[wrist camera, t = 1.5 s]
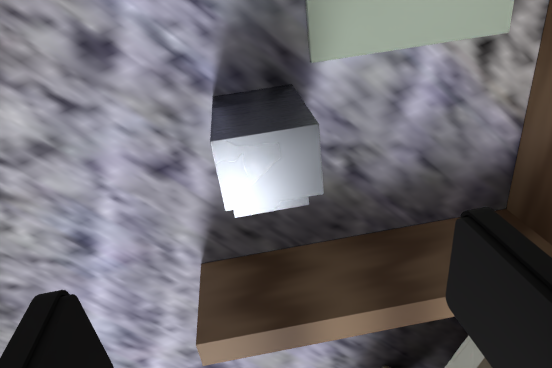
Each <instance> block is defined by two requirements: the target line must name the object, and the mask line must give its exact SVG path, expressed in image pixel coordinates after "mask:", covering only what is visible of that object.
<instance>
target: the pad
mask: <svg viewBox="0 0 552 368" xmlns="http://www.w3.org/2000/svg"><path fill="white" fill-rule="evenodd" d="M305 2H306V16H307V29H308V42H309V55H310V62H311V63H314V62H321V61H327V60H334V59H340V58H347V57H353V56H360V55H366V54H373V53H379V52H386V51H392V50H399V49H405V48H412V47H418V46H425V45H431V44H438V43H444V42H451V41H457V40H464V39H470V38H477V37H483V36H490V35H496V34H503V33H509V28H510V22H511V16H512V10H513V4H514V0H305Z"/></svg>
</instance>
